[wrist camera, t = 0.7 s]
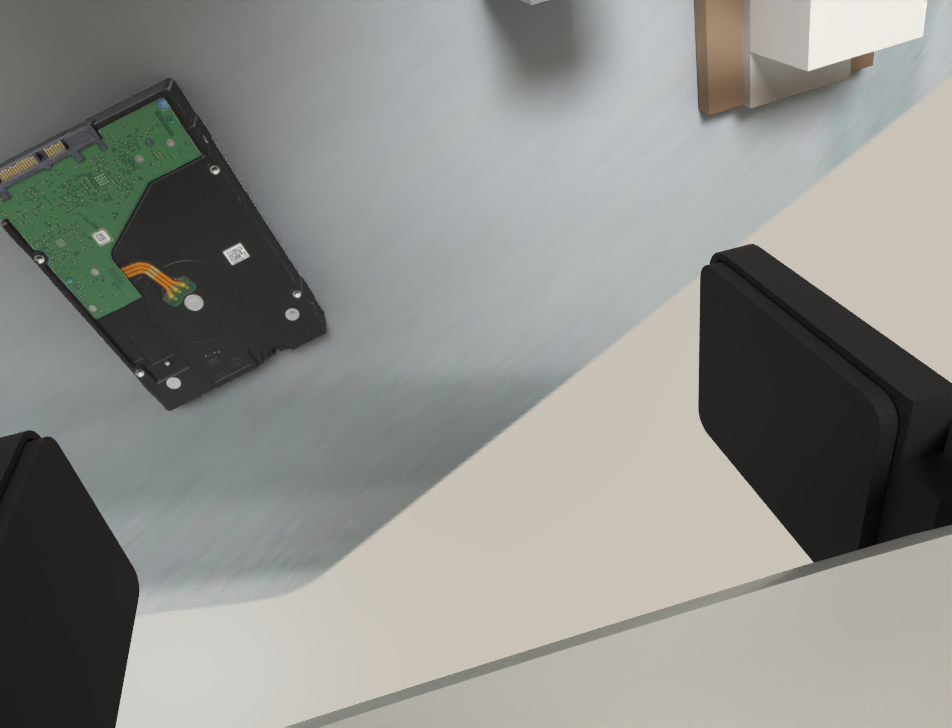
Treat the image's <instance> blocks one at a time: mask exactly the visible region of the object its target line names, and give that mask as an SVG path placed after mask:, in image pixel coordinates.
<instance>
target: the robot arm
mask: <svg viewBox="0 0 952 728" xmlns="http://www.w3.org/2000/svg"><path fill="white" fill-rule="evenodd" d="M700 279H701V280H700V281H701V282H700V344H699V347H700V348H699V415H700V420H701V422H702V425H703V427H704V429H705V431H706V432H707V434H708V435H709V436H710V437H711V438H712V440H713V441H714V442H715V443H716V444H717V446H718V447H719V448H720V449H721V451H722V452H723V453H724V454H725V455H726V456H727V458H728V459H729V460H730V461H731V463H732V464H733V465H734V466H735V467H736V469H737V470H738V471H739V472H740V474H741V475H742V476H743V477H744V478H745V480H746V481H747V482H748V483H749V484H750V485H751V487H752V488H753V489H754V490H755V492H756V493H757V494H758V495H759V497H760V498H761V499H762V500H763V501H764V503H765V504H766V505H767V506H768V507H769V509H770V510H771V511H772V512H773V513H774V515H775V516H776V517H777V518H778V520H779V521H780V522H781V523H782V524H783V526H784V527H785V528H786V529H787V530H788V532H789V533H790V534H791V535H792V536H793V538H794V539H795V540H796V541H797V543H798V544H799V545H800V546H801V547H802V549H803V550H804V551H805V552H806V554H807V555H808V556H809V557H810V558H811V560H812V561H813V562H814V563H812V564H808V565H804V566H801V567H798V568H794V569H791V570H788V571H784V572H781V573H778V574H775V575H771V576H768V577H765V578H762V579H758V580H755V581H752V582H749V583H745V584H742V585H739V586H736V587H732V588H729V589H726V590H723V591H719V592H716V593H713V594H710V595H706V596H703V597H700V598H696V599H693V600H690V601H687V602H684V603H680V604H677V605H674V606H670V607H667V608H664V609H661V610H657V611H654V612H651V613H648V614H644V615H641V616H638V617H635V618H631V619H628V620H625V621H621V622H618V623H615V624H612V625H609V626H605V627H602V628H599V629H596V630H593V631H589V632H586V633H583V634H580V635H576V636H573V637H570V638H567V639H564V640H560V641H557V642H554V643H551V644H548V645H544V646H541V647H538V648H535V649H531V650H528V651H525V652H522V653H519V654H515V655H513V656H509V657H506V658H503V659H499V660H496V661H493V662H490V663H487V664H483V665H480V666H477V667H474V668H471V669H467V670H464V671H461V672H458V673H455V674H452V675H448V676H445V677H442V678H439V679H436V680H432V681H429V682H426V683H423V684H420V685H416V686H413V687H410V688H407V689H404V690H401V691H397V692H394V693H391V694H388V695H385V696H381V697H378V698H375V699H372V700H369V701H365V702H362V703H359V704H356V705H353V706H350V707H347V708H343V709H341V710H337V711H334V712H331V713H328V714H325V715H321V716H319V717H315V718H312V719H309V720H306V721H303V722H300V723H296V724H293V725H290V726H287V727H284V728H952V383H951V382H949V381H948V380H946V379H945V378H944V377H942V376H941V375H939V374H938V373H936V372H935V371H934V370H932V369H931V368H929V367H928V366H927V365H925V364H924V363H922V362H921V361H920V360H918V359H917V358H915V357H914V356H912V355H911V354H910V353H908V352H907V351H905V350H904V349H902V348H901V347H900V346H898V345H897V344H895V343H894V342H893V341H891V340H890V339H888V338H887V337H886V336H884V335H883V334H881V333H880V332H879V331H877V330H875V329H874V328H873V327H871V326H870V325H869V324H867V323H866V322H864V321H863V320H862V319H860V318H859V317H857V316H856V315H854V314H853V313H852V312H850V311H849V310H847V309H846V308H845V307H843V306H842V305H840V304H839V303H838V302H836V301H835V300H833V299H832V298H831V297H829V296H828V295H826V294H825V293H824V292H822V291H821V290H819V289H818V288H816V287H815V286H814V285H812V284H811V283H809V282H808V281H807V280H805V279H804V278H802V277H801V276H799V275H798V274H797V273H795V272H794V271H792V270H791V269H790V268H788V267H787V266H785V265H784V264H782V263H781V262H780V261H778V260H777V259H776V258H774V257H773V256H771V255H770V254H768V253H767V252H766V251H764V250H763V249H761V248H760V247H759V246H757V245H754V244H749V245H745V246H741V247H737V248H733V249H730V250H726V251H722V252H718V253H715V254H714V255H713V256H712V258H711V261H710V265H706V266H704V267H703V268H702V271H701V277H700ZM138 598H139V583H138V578H137V575H136V572H135V570H134V568H133V566H132V564H131V563H130V561H129V559H128V558H127V556H126V554H125V553H124V551H123V550H122V548H121V546H120V545H119V543H118V541H117V540H116V538H115V536H114V535H113V533H112V531H111V530H110V528H109V527H108V525H107V523H106V522H105V520H104V518H103V517H102V515H101V513H100V512H99V510H98V508H97V507H96V505H95V504H94V502H93V500H92V499H91V497H90V495H89V494H88V492H87V490H86V489H85V487H84V485H83V484H82V482H81V481H80V479H79V477H78V476H77V474H76V472H75V471H74V469H73V467H72V466H71V464H70V462H69V461H68V459H67V458H66V456H65V454H64V453H63V451H62V449H61V448H60V446H59V445H58V443H57V442H56V441H55V440H54V439H53V438H52V437H44V438H41V437H40V436H39V435H38V434H37V433H35V432H34V431H30V430H28V431H25V432H21V433H17V434H13V435H9V436H5V437H1V438H0V728H115V726H116V721H117V715H118V709H119V704H120V698H121V693H122V687H123V681H124V676H125V670H126V665H127V659H128V654H129V648H130V643H131V637H132V631H133V625H134V620H135V615H136V609H137V604H138Z"/></svg>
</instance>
